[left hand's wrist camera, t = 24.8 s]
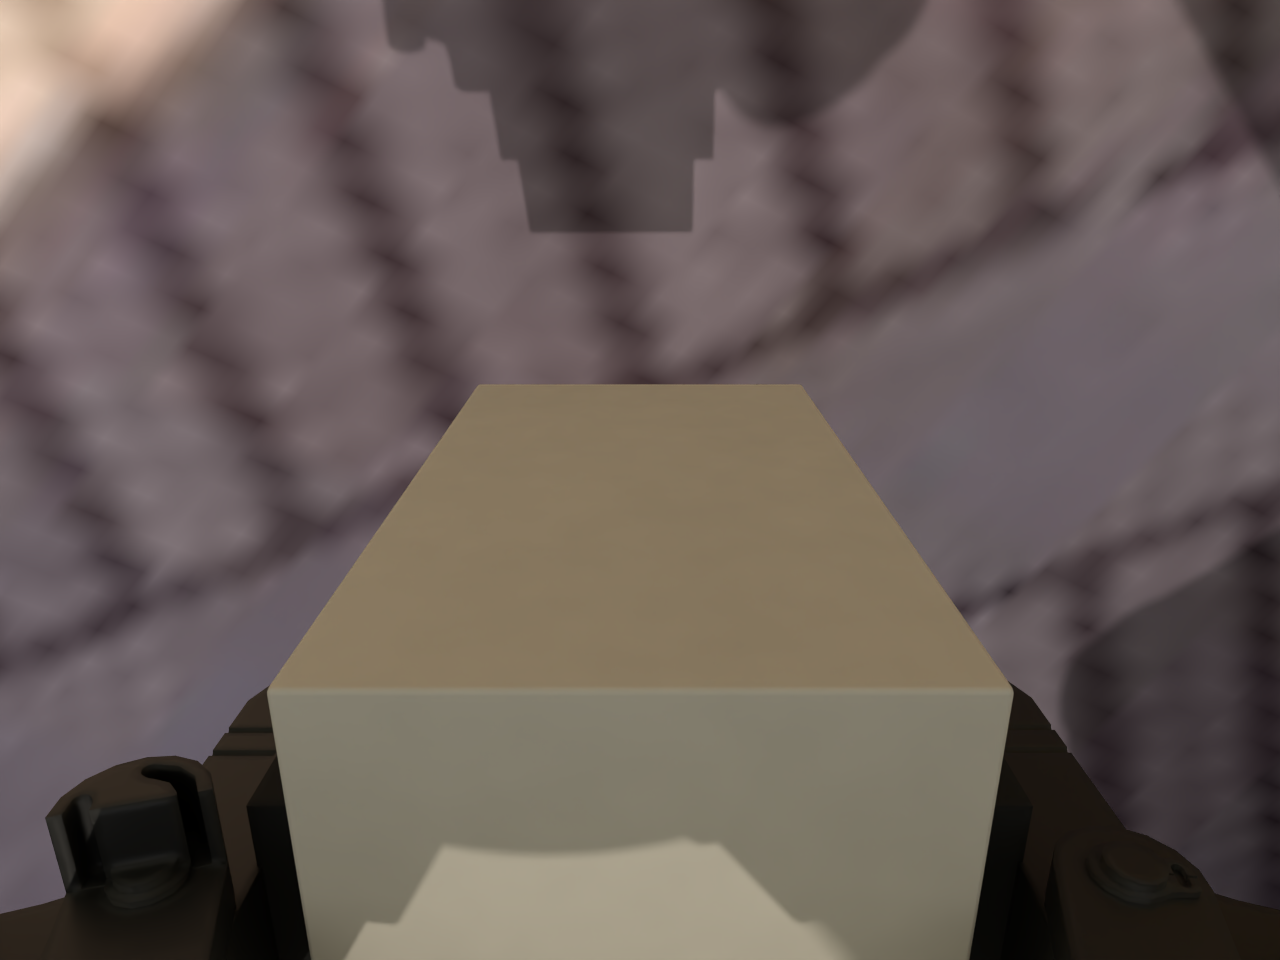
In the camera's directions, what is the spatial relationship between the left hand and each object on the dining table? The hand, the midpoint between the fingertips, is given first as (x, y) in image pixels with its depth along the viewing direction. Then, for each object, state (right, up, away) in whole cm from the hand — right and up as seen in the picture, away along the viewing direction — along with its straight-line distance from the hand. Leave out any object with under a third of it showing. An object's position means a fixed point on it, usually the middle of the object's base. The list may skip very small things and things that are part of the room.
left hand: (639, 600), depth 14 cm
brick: (0, +1, +2) cm, 2 cm away
